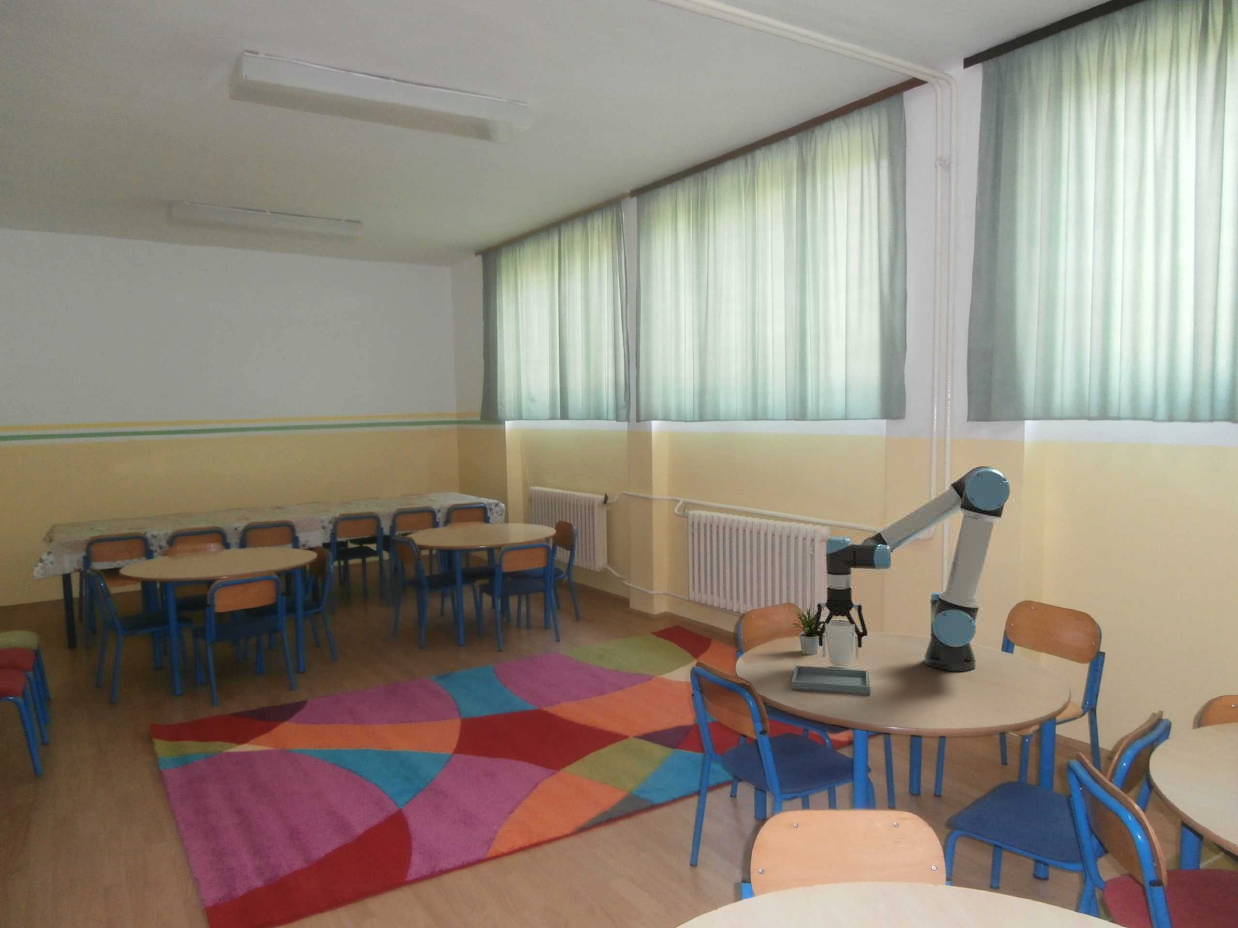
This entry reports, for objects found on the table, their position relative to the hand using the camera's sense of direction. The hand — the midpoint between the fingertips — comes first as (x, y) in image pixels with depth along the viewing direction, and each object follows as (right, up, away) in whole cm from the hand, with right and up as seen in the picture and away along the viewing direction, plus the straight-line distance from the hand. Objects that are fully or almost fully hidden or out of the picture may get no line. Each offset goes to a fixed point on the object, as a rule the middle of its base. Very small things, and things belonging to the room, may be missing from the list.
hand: (840, 656), depth 264 cm
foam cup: (0, -2, 0) cm, 2 cm away
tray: (-7, -5, -14) cm, 17 cm away
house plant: (-7, -3, +18) cm, 19 cm away
